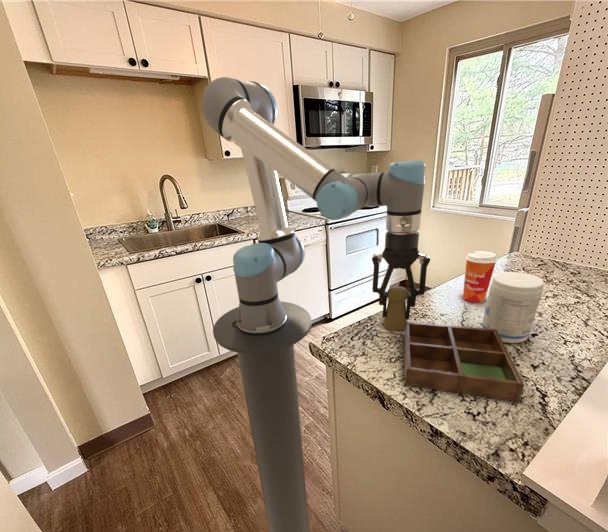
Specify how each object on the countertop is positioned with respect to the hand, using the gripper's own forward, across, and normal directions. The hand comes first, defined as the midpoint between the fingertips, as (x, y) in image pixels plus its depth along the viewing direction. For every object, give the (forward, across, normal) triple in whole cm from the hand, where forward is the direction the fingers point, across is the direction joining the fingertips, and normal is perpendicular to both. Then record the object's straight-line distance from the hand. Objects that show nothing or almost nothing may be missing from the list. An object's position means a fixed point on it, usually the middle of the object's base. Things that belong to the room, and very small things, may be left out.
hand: (395, 315), depth 84 cm
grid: (+3, +12, -15) cm, 19 cm away
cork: (+3, 0, 0) cm, 3 cm away
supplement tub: (+3, +25, 0) cm, 25 cm away
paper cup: (+3, +22, +20) cm, 30 cm away
